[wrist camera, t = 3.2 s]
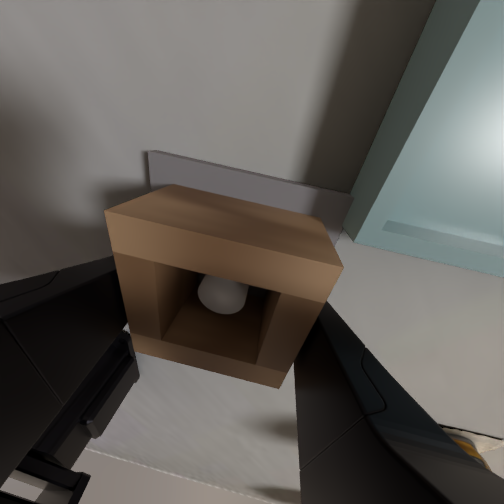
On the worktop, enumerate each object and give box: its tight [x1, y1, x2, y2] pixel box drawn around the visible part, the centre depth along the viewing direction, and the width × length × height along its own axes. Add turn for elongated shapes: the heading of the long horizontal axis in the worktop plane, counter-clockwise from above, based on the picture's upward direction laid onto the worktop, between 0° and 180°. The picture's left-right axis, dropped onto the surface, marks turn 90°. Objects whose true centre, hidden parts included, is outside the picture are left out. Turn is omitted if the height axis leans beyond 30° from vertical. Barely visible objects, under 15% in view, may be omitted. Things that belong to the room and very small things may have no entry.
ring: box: [104, 184, 344, 389], centre depth 8 cm, size 6×6×4 cm
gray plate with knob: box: [148, 150, 354, 314], centre depth 8 cm, size 8×8×3 cm
